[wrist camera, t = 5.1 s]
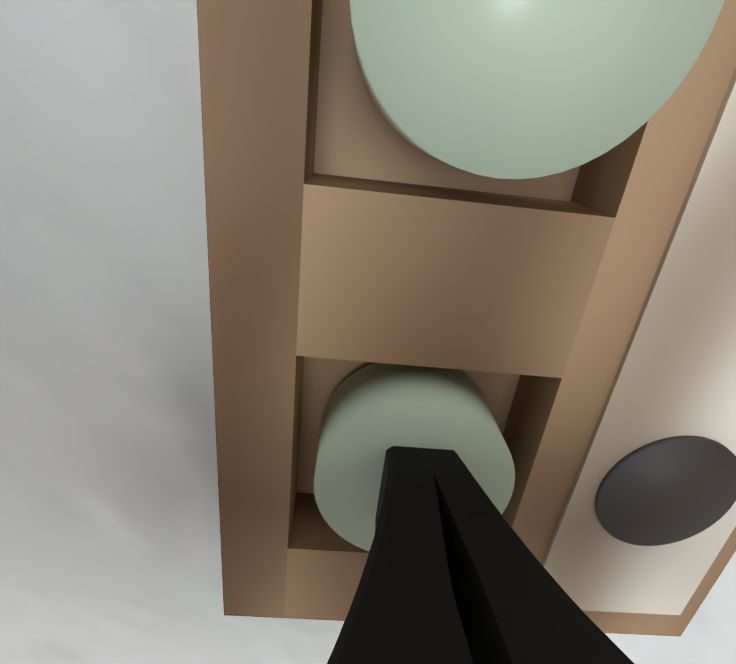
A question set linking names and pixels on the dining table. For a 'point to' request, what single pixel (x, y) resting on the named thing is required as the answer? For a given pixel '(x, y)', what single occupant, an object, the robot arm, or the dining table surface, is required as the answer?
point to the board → (470, 318)
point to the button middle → (524, 74)
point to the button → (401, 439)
